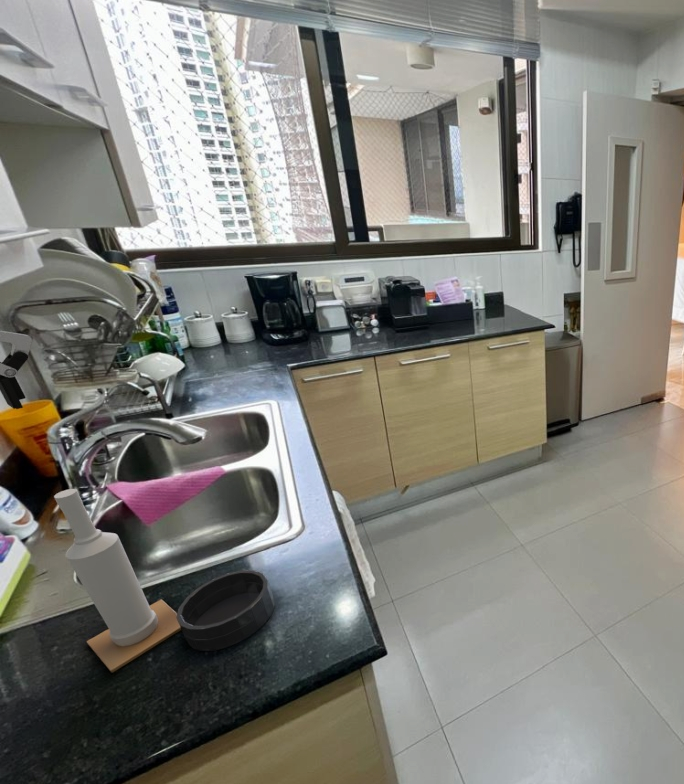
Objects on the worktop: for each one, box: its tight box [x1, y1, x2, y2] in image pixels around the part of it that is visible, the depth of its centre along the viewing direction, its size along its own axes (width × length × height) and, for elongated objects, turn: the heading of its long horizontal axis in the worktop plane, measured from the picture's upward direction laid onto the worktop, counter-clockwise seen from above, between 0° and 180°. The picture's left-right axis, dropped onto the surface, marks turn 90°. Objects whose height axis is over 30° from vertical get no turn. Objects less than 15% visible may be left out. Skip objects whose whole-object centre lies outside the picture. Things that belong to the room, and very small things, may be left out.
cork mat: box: [86, 599, 182, 673], centre depth 70 cm, size 9×9×1 cm
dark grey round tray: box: [176, 569, 276, 652], centre depth 72 cm, size 11×11×4 cm
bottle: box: [53, 488, 158, 646], centre depth 65 cm, size 5×5×25 cm
